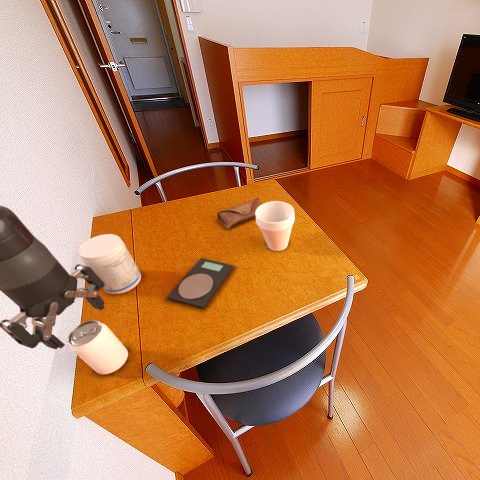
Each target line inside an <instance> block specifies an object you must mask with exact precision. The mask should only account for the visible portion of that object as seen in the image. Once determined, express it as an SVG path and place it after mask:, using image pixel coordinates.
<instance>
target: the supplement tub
mask: <svg viewBox="0 0 480 480" xmlns="http://www.w3.org/2000/svg"><path fill="white" fill-rule="evenodd" d="M77 252H78V255H79V257H80V259H81V261H82V262H83V264H84V266H87V267H90V268H91V269H92V270H93V271H94V272H95V273H96V274H97V275H98V277H99V278H100V279H101V280H102V281H103V282H104V283H105V286H104V287H103V288H102V289H103V291H104V292H106V293H108V294H110V295H120V294H124V293H126V292H129V291H131V290H133V289H134V288H136V286H137V285H138V284H139V283H140V281H141V279H142V274H141V271H140V269H139V268H138V266H137V264H136V263H135V261H134V259H133V257H132V255H131V253H130V252H129V249H128V248H127V246H126V244H125V242H124V241H123V240H122V238H121V237H120V236H118V235H116V234H113V233H105V234H99V235H96V236H93V237H91V238H89V239H87V240H85V242H83V243H82V244H81V245H79V248H78V251H77Z"/></svg>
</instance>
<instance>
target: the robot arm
mask: <svg viewBox="0 0 480 480" xmlns="http://www.w3.org/2000/svg"><path fill="white" fill-rule="evenodd" d="M73 269H74V271H72V272H71V273H69V272H68V271H67V269H65V267H64V266H63V265H62V264H61V262H59V260H58V259H57V258H56V257H55V255H54V254H53V253H52V252H51V251H50V249H48V247H47V246H46V245H45V244H44V243H43V242H42V241H40V240H39V239H38V238H37V237H36V236H35V235H34V234H33V233H32V231H30V229H29V228H28V227H27V226H26V224H24V222H22V220H21V219H20V218H19V216H18V215H16V213H15V212H14V211H12V209H10V208H8V207H6V206H4V205H0V292H1V293H3V294H4V295H5V296H6V297H7V298H8V299H10V301H12V303H14V304H15V305H17V307H18V308H19V313H18V314H16V315H15V316H14V317H12V318H10V319H7V318H6V319H5V318H4V319H2V320H1V321H0V328H1V329H2V331H4V332H5V333H6V334H8V335H9V336H10V337H11V338H12V339H13V340H14V341H15V342H16V343H17V344H19V345H21V346H24V347H26V348H30V349H35V348H36V347H37V346H38V345H39V344H40V343H42V344H43V345H45V347H47V348H50V349H53V350H58V348H59V349H62V348H64V347H65V346H66V344H65V343H64V342H62V340H60V339H59V338H58V337H57V335H55V334H52V333H53V327H55V326H56V320H57V317H58V316H59V317H60V315H61V314H63V312H64V311H65V310H66V309H67V308H69V307H71V306H72V305H73V304H74V303H76V301H75V300H76V299H77V298H79V299H81V298H82V299H86V301H87V302H88V303H89V304H90V306H91V307H92V308H94V309H95V310H99V311H103V310H104V309H105V307H106V306H105V303H106V302H105V300H103V298H102V297H101V296H100V295H99V292H100V290H101V289H103V287H104V286H105V283H104V282H103V281H102V280H101V279H100V278H99V277H98V275H97V274H96V273H95V272H94V271H93V270H92V269H91V268H90V267H87V266H86V265H85V264H80V263H78V264H76V265H74V268H73ZM78 279H81V280H84V281H85V282H86V283H87V284H88V286H87V288H86V287H85V288H84V287H78ZM28 318H30V319H31V324H32V333H30V332H29V331H28V330H27V328H28V324H27V319H28Z"/></svg>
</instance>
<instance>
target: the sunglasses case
mask: <svg viewBox="0 0 480 480" xmlns="http://www.w3.org/2000/svg"><path fill="white" fill-rule="evenodd" d="M262 204H263V203H262V202H261V201H260V198H259V197H257V198H255V199H252V200H250V201H247V202H243V203H241V204H237V205H235V206H232V207H229V208H227V209H225V210H220V211H218V212H217V214H216V216H217V220H218V221H219V223H220V224H221V225H222V226H223V227H224V228H225V229H227V230H229V229H232V228H234V227H236V226H238V225H240V224H244V223H245V222H248V221H251V220H255V219H256V216H255V211H256V209H257V208H258V207H259V206H260V205H262Z"/></svg>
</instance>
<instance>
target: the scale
mask: <svg viewBox="0 0 480 480" xmlns="http://www.w3.org/2000/svg"><path fill="white" fill-rule="evenodd" d="M233 269H234V265H232V264H229V263H224V262H220V261H217V260H216V261H215V260H211V259H207V258H203V257H200V259H198V261H197V262H196V263H195V264H194V265H193V266H192V268H191V269H190V270H189V271H188V272H187V273H186V274H185V275H184V277H183V278H182V279H181V280H180V281H179V282H178V284H177V285H176V286H175V287H174V288H173V289H172V290H171V292H169V294H168V295H167V296H166V299H167V300H168V301H172V302H175V303H178V304H182V305H186V306H190V307H193V308H197V309H201V310H204V309H205V308H206V306H207V305H208V303H209V302H210V301H211V300H212V298H213V296H214V295H215V294H216V292H218V290H219V288H220V287H221V286H222V284H223V283H224V281H225V280H226V279H227V278H228V276H229V274H230V273H231V272H232V270H233Z"/></svg>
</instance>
